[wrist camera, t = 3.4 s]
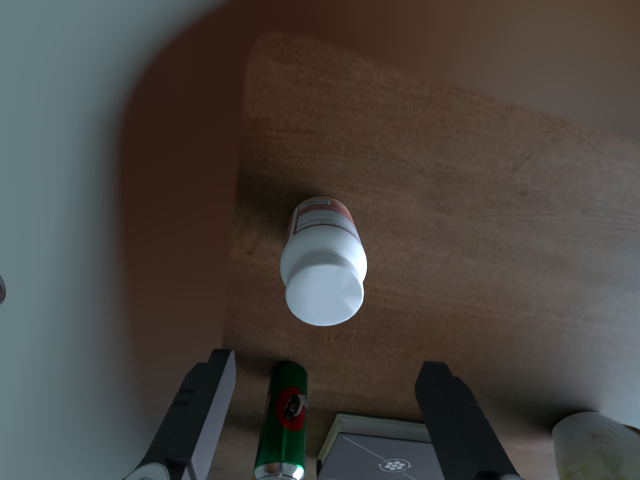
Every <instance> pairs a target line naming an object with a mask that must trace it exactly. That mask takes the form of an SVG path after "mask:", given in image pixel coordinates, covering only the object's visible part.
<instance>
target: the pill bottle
mask: <svg viewBox="0 0 640 480" xmlns="http://www.w3.org/2000/svg"><path fill="white" fill-rule="evenodd" d="M366 268H367V263H366V257H365V253H364V250H363V247H362V244H361V242H360V239H359V236H358V234H357V231H356V228H355V226H354V223H353V220H352V217H351V215H350V213H349V212H348V210H347V209H346V207H345V206H344V205H343V204H341V203H340V202H339V201H337V200H335V199H332V198H329V197H313V198H310V199H307V200H305V201H304V202H302V203H301V204H300V205H299V206H298V207H297V208H296V209H295V210H294V212H293V214H292V216H291V218H290V222H289V226H288V231H287V235H286V239H285V243H284V247H283V251H282V255H281V262H280V271H281V276H282V279H283V282H284V284H285V285H286V301H287V304H288V307H289V309H290V310H291V312H292V313H293V314H294V315H295V316H296V317H298V318H299V319H300V320H302V321H304V322H306V323H309V324H313V325H318V326H329V325H334V324H338V323H341V322H343V321H345V320H347V319H349V318H350V317H352V316H353V315H354V314H355V313H356V312H357V311H358V309H359V307H360V306H361V304H362V301H363V295H364V291H363V285H362V282H363V280H364V277H365V274H366Z"/></svg>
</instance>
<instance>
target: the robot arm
mask: <svg viewBox="0 0 640 480" xmlns="http://www.w3.org/2000/svg"><path fill="white" fill-rule="evenodd" d="M235 381H236V365H235V354H234V350H231V349H214V350H213V352H212V353H211V356H210V358H209V360H208V363H197V364H196V365H195V366H194V367H193V368H192V369H191V371H190V372H189V373H188V374H187V375H186V377H185V379H184V381H183V383H182V384H181V386H180V389H179V392H177V394H176V396H175V399H174V400H173V404H172V405H171V406H170V408H169V410H168V412H167V414H166V416H165V418H164V420H163V422H162V424H161V426H160V428H159V430H158V432H157V434H156V436H155V438H154V440H153V442H152V444H151V446H150V447H149V449H148V451H147V453H146V455H145V457H144V458H143V460H142V461H141V462H140V464H139V465H138V466H137V467H136V468H135V469H134V470H133V472H131V473H130V474H129V475H128V476H127V477H126V478H124V479H122V480H206V478H207V475H208V472H209V469H210V465H211V462H212V459H213V456H214V452H215V449H216V446H217V443H218V439H219V436H220V433H221V429H222V426H223V423H224V420H225V416H226V413H227V410H228V407H229V403H230V400H231V397H232V394H233V390H234V387H235ZM415 395H416V399H417V402H418V405H419V408H420V411H421V413H422V416H423V419H424V422H425V425H426V428H427V431H428V433H429V436H430V439H431V442H432V445H433V448H434V451H435V453H436V456H437V459H438V462H439V465H440V468H441V471H442V473H443V476H444V479H445V480H525V479H523V478H521V477H520V476H519V474H518V473H517V472H516V470H515V468H514V467H513V465H512V463H511V461H510V460H509V458H508V456H507V454H506V452H505V451H504V449H503V447H502V445H501V443H500V442H499V440H498V438H497V436H496V435H495V433H494V431H493V429H492V427H491V426H490V424H489V422H488V420H487V419H486V418H485V415H484V413H483V411H482V409H481V408H480V407H479V406H478V402H477V401H476V399H475V397H474V395H473V393H472V392H471V390H470V389H469V388H468V386H467V385H466V384H465V383H464V382H463V381H462V380H461V379H460V378H459V377H453V375H452V373H451V371H450V369H449V367H448V366H447V364H446V363H444V362H437V361H425V362H424V363H423V366H422V368H421V370H420V373H419V375H418V378H417V380H416V383H415Z"/></svg>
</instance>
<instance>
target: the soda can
mask: <svg viewBox="0 0 640 480" xmlns="http://www.w3.org/2000/svg"><path fill="white" fill-rule="evenodd" d="M307 388H308V374H307V372H306V370H305V369H304V368H303V367H302V366H301V365H299V364H297V363H294V362H285V363H281V364H279V365H278V366H276V367H275V368H274V369H273V370H272V372H271V375H270V381H269V387H268V392H267V398H266V404H265V409H264V415H263V421H262V426H261V432H260V438H259V443H258V449H257V455H256V460H255V466H254V472H253V473H254V477H255V480H302V479H303V477H304V475H305V451H306V419H307Z"/></svg>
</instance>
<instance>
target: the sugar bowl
mask: <svg viewBox="0 0 640 480" xmlns="http://www.w3.org/2000/svg"><path fill="white" fill-rule="evenodd" d="M552 436H553V441H554V452H555V461H556V466H557V471H558V475H559V478H560V480H640V430H639V429H637V428H635V427H632V426H630V425H628V424H625V423H623V422H620V421H617V420H615V419H612V418H610V417H608V416H605V415H603V414H601V413H598V412H581V413H576V414H573V415H571V416H568V417H566V418H564V419H563V420H561V421H560V422H559V423H557V424H556V425H555V427H554V428H553V430H552Z"/></svg>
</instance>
